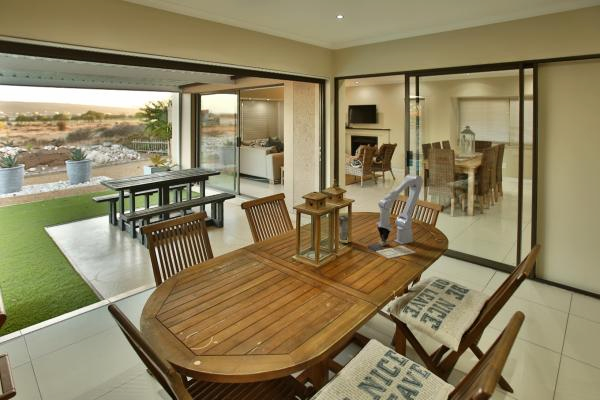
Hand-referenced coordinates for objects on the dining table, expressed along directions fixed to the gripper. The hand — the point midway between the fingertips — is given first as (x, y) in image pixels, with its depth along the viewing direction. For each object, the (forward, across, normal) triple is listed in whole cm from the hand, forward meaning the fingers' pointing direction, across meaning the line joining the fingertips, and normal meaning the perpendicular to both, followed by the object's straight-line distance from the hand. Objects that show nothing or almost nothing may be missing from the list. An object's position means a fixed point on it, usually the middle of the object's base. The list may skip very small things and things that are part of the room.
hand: (383, 238), depth 227 cm
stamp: (+4, 0, 0) cm, 4 cm away
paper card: (+4, +13, -1) cm, 14 cm away
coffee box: (+4, -18, -19) cm, 27 cm away
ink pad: (+4, +2, -8) cm, 9 cm away
